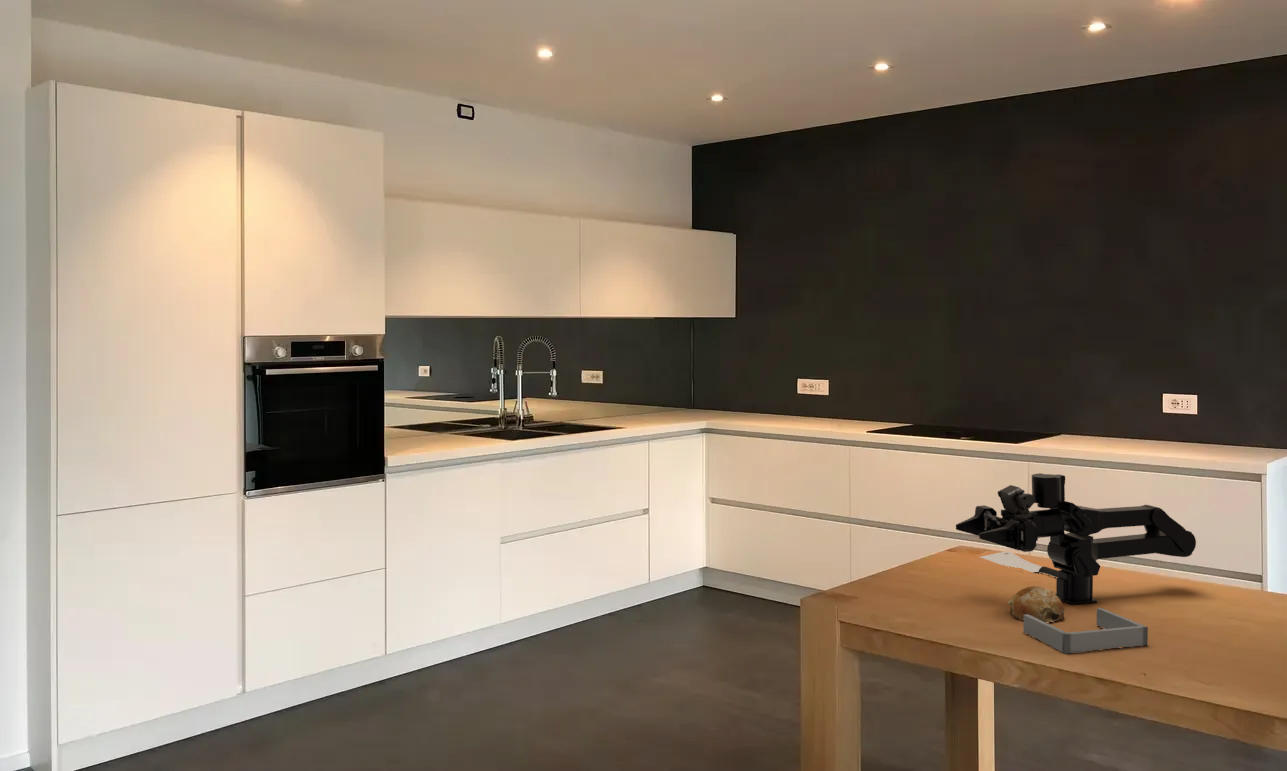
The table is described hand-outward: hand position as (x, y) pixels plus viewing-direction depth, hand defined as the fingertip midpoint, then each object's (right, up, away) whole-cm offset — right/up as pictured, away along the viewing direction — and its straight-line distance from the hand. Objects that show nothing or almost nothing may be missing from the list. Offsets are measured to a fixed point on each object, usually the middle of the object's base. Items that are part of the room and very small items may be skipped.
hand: (967, 531), depth 211 cm
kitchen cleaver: (+25, -15, +33) cm, 44 cm away
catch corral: (+16, -17, -20) cm, 31 cm away
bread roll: (+12, -17, -5) cm, 21 cm away
